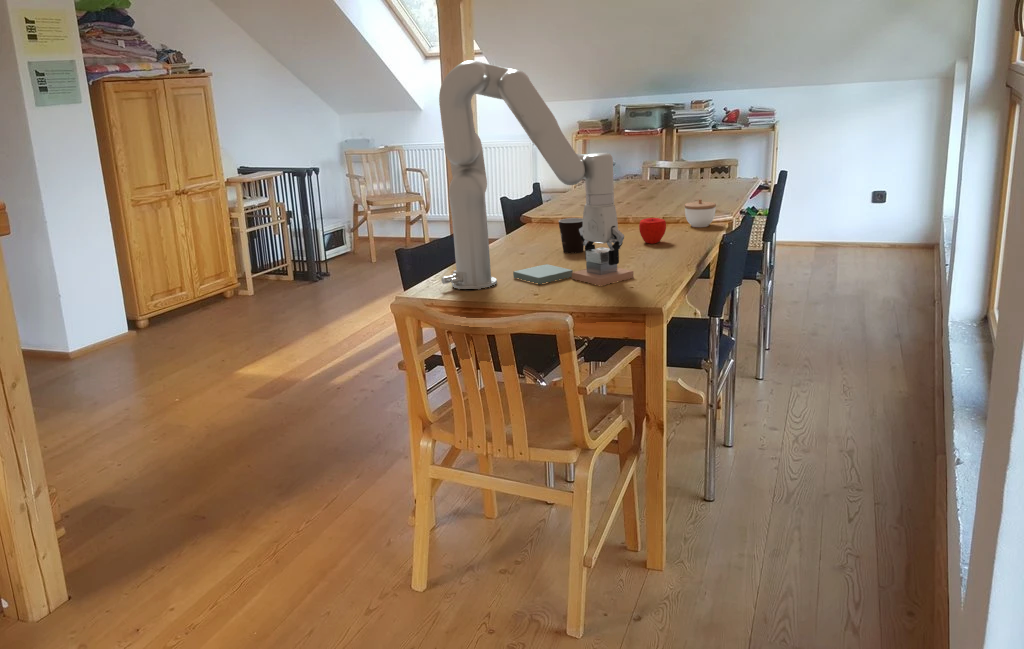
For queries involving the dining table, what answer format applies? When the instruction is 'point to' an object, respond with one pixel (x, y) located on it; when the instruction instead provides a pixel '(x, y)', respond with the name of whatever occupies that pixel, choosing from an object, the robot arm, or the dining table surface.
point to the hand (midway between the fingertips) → (602, 261)
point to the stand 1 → (543, 273)
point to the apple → (652, 229)
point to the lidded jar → (700, 213)
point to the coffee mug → (571, 235)
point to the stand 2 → (602, 276)
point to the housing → (599, 261)
